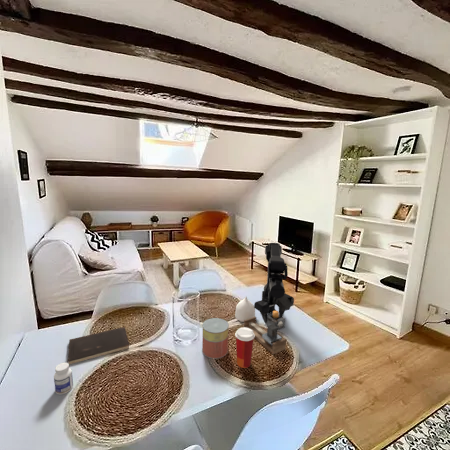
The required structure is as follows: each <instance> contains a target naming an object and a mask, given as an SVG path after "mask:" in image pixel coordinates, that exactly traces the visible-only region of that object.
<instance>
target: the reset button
mask: <svg viewBox="0 0 450 450" xmlns="http://www.w3.org/2000/svg"><path fill="white" fill-rule="evenodd" d="M272 313H273V317H274V319H275V320H277V318H278V317H279V310H276V311H273V312H272Z"/></svg>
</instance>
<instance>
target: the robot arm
mask: <svg viewBox="0 0 450 450" xmlns="http://www.w3.org/2000/svg"><path fill="white" fill-rule="evenodd" d="M282 248H283V247H282V245H281V244H280V243H278V242H270V243H269V244H267V245H265V248H264V255H265V258H266V261H267V276H266V277H267V278H266V279H267V280H266V284H265V285H264V286H263V290H262V291H261V300H257V301H255V302H254V304H253V305H254V308H255V310H257V311H258V312H260V313H259V314H260V315H261V317H262V320H263V322H264V324H265V323H267V316H268V315H269V314H272V313H273V311H277V309H276V306H277V308H278V312H279V316H280V318H282V317H284V314H285V311H290V310H291V307H293V306H294V304H295V298H294V296H291V295H290V294H288V293H286V290H285V286H284V283H283V280H287V278H288V276H289V275H288V265H287V263H286V262H285V259H284V258H282V257H281V256H282V254H283V253H282V252H283V249H282Z"/></svg>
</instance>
